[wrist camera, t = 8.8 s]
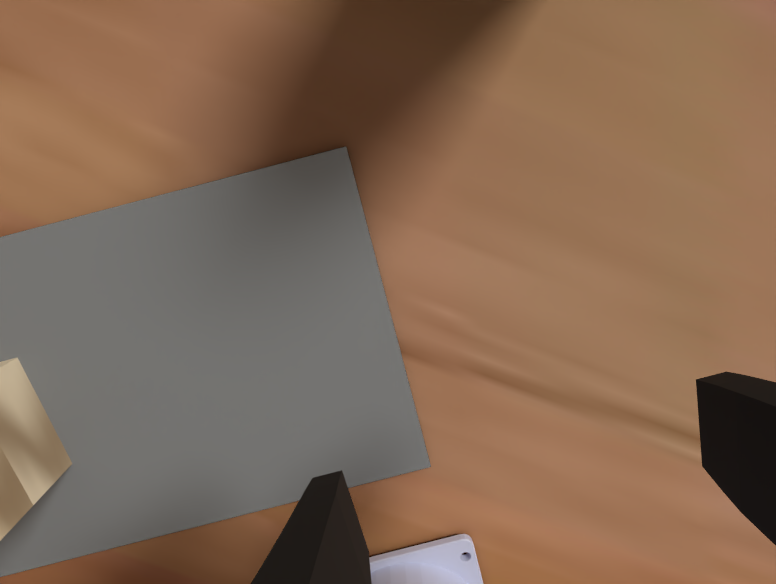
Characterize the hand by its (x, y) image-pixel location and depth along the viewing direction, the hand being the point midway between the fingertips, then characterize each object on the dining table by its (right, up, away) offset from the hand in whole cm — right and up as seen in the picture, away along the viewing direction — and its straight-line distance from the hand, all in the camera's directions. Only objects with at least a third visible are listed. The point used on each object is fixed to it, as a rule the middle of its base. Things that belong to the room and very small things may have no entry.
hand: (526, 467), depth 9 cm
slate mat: (-14, -1, +10) cm, 17 cm away
